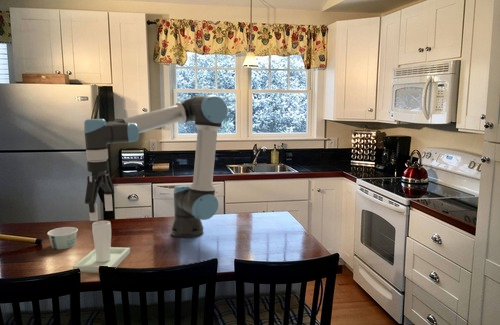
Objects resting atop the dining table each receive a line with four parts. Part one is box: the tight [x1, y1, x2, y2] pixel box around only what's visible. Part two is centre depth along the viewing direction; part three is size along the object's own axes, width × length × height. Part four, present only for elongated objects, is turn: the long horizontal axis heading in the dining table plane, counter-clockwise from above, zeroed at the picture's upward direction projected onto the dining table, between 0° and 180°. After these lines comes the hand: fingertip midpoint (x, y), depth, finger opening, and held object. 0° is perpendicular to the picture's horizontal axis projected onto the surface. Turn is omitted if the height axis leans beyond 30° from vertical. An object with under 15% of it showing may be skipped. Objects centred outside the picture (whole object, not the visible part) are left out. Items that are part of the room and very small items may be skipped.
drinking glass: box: [91, 220, 112, 262], centre depth 153 cm, size 7×7×15 cm
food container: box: [47, 226, 79, 250], centre depth 172 cm, size 12×12×6 cm
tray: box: [72, 246, 131, 274], centre depth 154 cm, size 14×20×2 cm
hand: (101, 215), depth 152 cm, fingers open, 13 cm apart
